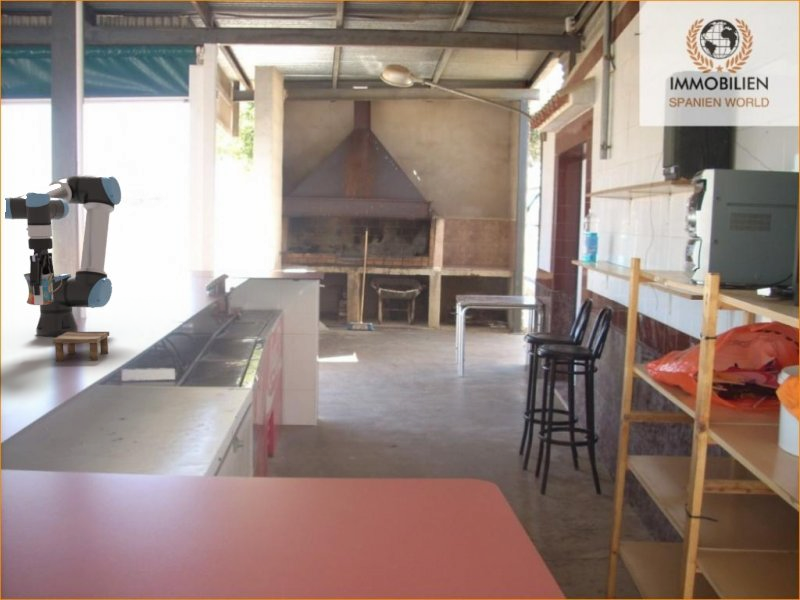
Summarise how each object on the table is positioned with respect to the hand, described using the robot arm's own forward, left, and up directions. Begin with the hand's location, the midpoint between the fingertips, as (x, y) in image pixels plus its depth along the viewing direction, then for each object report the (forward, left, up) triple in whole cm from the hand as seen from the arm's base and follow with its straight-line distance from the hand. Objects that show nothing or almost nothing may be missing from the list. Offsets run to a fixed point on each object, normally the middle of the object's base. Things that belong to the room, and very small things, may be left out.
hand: (43, 302), depth 266 cm
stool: (+11, +16, -17) cm, 26 cm away
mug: (0, 0, -1) cm, 1 cm away
